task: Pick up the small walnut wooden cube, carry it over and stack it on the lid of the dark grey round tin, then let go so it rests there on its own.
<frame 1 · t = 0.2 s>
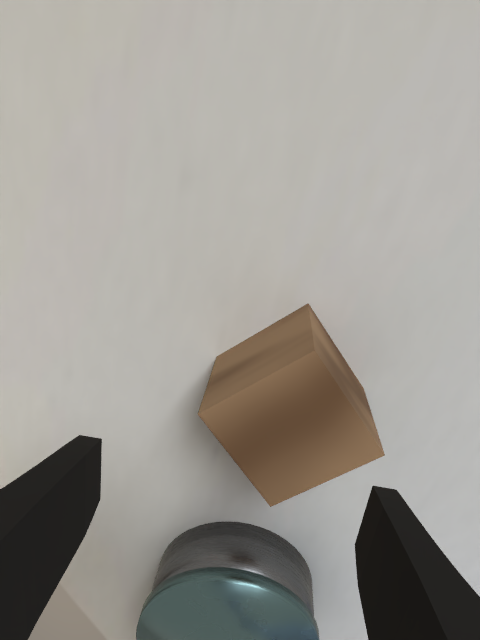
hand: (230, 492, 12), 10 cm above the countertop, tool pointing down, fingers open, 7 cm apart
grey tin: (234, 578, 27), on the countertop
walnut cube: (289, 371, 21), on the countertop
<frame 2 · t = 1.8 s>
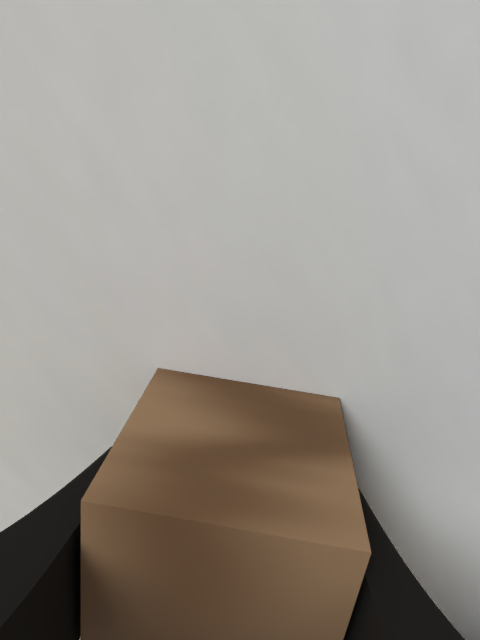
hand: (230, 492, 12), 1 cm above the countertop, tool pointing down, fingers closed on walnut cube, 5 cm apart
walnut cube: (236, 457, 13), on the countertop, touching gripper
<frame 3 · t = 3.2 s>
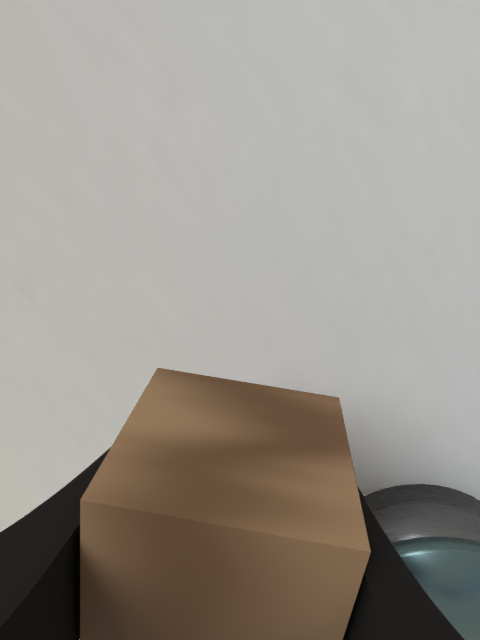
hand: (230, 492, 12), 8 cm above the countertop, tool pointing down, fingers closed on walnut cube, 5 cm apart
grey tin: (413, 554, 23), on the countertop
walnut cube: (235, 456, 13), point 7 cm above the countertop, touching gripper
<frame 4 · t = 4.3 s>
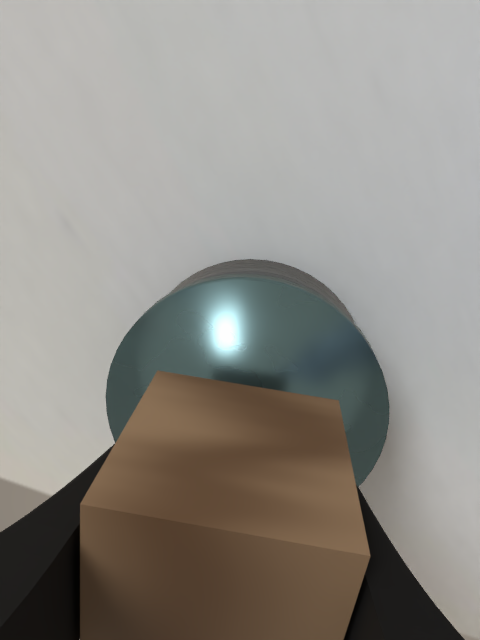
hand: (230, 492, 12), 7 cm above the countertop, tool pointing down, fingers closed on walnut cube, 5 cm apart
grey tin: (252, 365, 19), on the countertop
walnut cube: (235, 459, 13), point 6 cm above the countertop, touching gripper
when the fingers open (6 cm above the countertop, at t = 5.0 s): walnut cube drops 1 cm, resting on grey tin.
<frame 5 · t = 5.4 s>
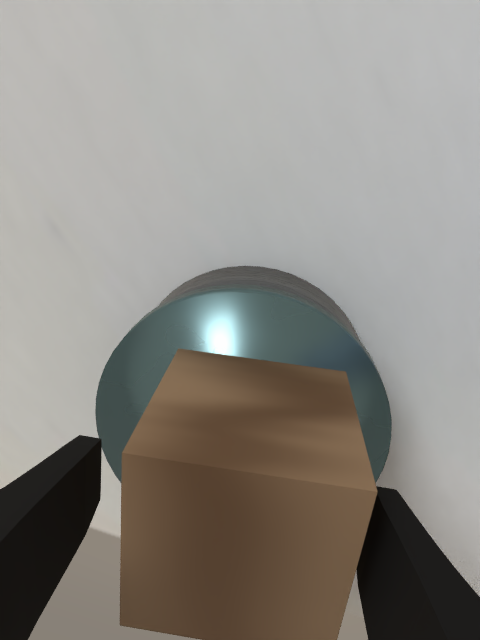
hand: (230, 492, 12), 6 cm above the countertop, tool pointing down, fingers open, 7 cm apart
grey tin: (248, 374, 18), on the countertop, touching walnut cube
walnut cube: (251, 429, 14), point 4 cm above the countertop, touching grey tin
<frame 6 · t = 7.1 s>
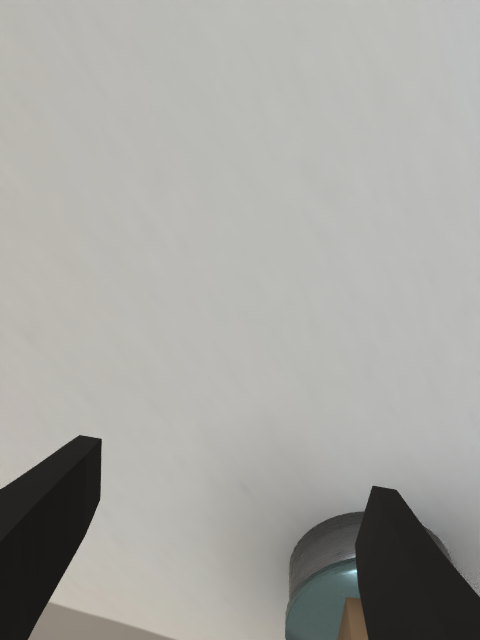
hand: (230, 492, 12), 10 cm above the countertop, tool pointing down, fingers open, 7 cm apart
grey tin: (368, 570, 26), on the countertop, touching walnut cube
walnut cube: (390, 639, 22), point 4 cm above the countertop, touching grey tin
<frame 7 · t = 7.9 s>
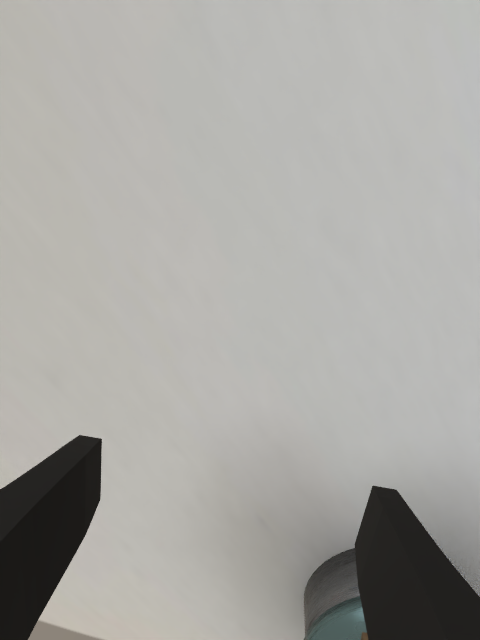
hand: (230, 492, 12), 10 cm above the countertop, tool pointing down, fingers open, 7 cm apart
grey tin: (381, 600, 26), on the countertop, touching walnut cube
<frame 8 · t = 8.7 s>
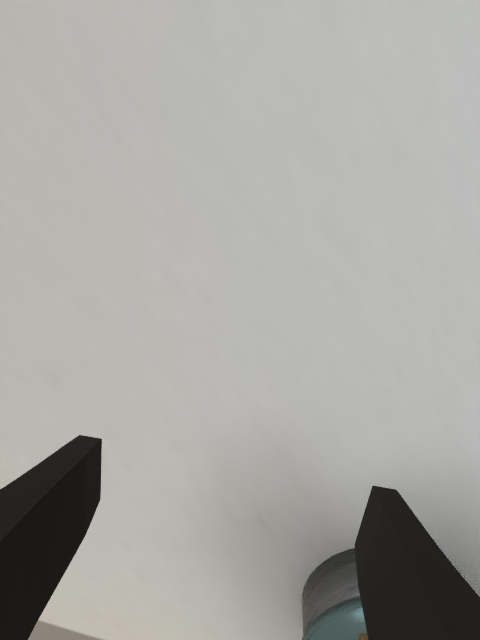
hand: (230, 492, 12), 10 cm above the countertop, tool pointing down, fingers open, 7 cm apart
grey tin: (379, 600, 26), on the countertop, touching walnut cube
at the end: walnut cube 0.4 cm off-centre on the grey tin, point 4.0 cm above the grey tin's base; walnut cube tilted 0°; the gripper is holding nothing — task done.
